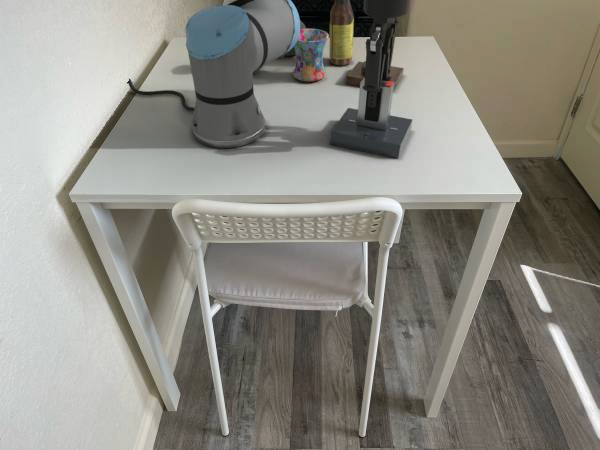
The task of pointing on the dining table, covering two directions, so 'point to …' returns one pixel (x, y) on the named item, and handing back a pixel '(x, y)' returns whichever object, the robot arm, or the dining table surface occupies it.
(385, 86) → the tap handle
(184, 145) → the dining table surface
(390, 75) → the button block
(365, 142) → the panel
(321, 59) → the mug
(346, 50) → the sauce bottle
